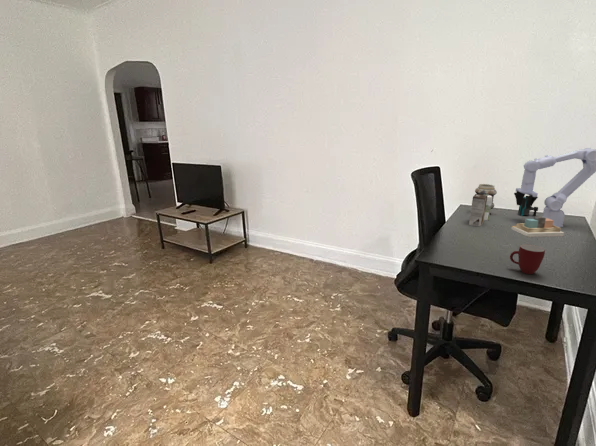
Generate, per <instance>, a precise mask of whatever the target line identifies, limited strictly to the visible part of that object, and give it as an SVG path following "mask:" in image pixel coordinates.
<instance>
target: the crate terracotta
mask: <svg viewBox="0 0 596 446" xmlns="http://www.w3.org/2000/svg"><path fill="white" fill-rule="evenodd" d="M552 225H553V220H551V219H548V218H546V220H545V224H544V228H552Z"/></svg>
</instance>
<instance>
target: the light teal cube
mask: <svg viewBox="0 0 596 446" xmlns="http://www.w3.org/2000/svg"><path fill="white" fill-rule="evenodd" d="M524 223H525V224H524V226H525V227H527V228H537V226H538V221H537V220H535V219H534V218H524Z"/></svg>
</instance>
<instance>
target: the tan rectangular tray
mask: <svg viewBox="0 0 596 446" xmlns="http://www.w3.org/2000/svg"><path fill="white" fill-rule="evenodd" d="M542 216H543V215H542ZM542 216H537V215H536V217H533V219H535V220H537V221H538V226H537V228H527V227H525V226H524V224H525V222H524V223H523V222H522V223H521V222H520V223H516V224H515V226H516V228H519V229H521V230H523V231H525V232H528V233H529V232H560V231H561V229H562V227H557V226H554V225H552V228H544V224H545V220H546V218H544V217H542Z"/></svg>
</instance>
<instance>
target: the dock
mask: <svg viewBox="0 0 596 446" xmlns="http://www.w3.org/2000/svg"><path fill="white" fill-rule="evenodd" d="M511 230H513V231H515V232H517V233H519V234H520V235H523V236H525V237H526V238H537V237H538V238H549V237H550V238H551V237H553V238H555V237H564V235H565V232H564V231H561V230H560V232H529V233H528V232H525V231H523V230H521V229H519V228H516V225H512V226H511Z"/></svg>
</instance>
